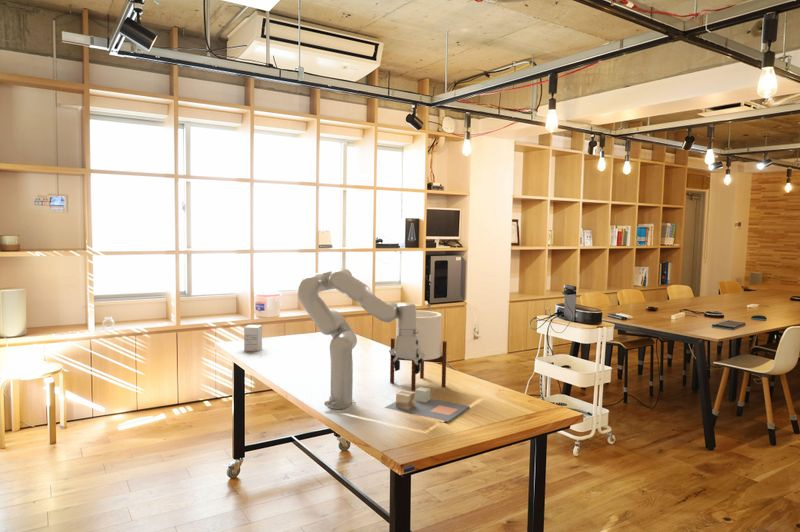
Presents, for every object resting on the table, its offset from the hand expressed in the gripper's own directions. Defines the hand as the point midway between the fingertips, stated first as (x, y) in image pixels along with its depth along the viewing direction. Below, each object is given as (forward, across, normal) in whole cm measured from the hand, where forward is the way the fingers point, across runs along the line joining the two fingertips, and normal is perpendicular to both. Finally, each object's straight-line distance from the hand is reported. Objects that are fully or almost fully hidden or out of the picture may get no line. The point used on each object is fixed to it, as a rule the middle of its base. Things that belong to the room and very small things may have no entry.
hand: (407, 371), depth 234 cm
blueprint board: (+16, -7, -5) cm, 19 cm away
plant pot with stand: (+17, +14, -35) cm, 41 cm away
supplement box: (+15, +137, -45) cm, 144 cm away
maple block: (+15, +1, 0) cm, 15 cm away
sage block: (+15, -1, -12) cm, 19 cm away
